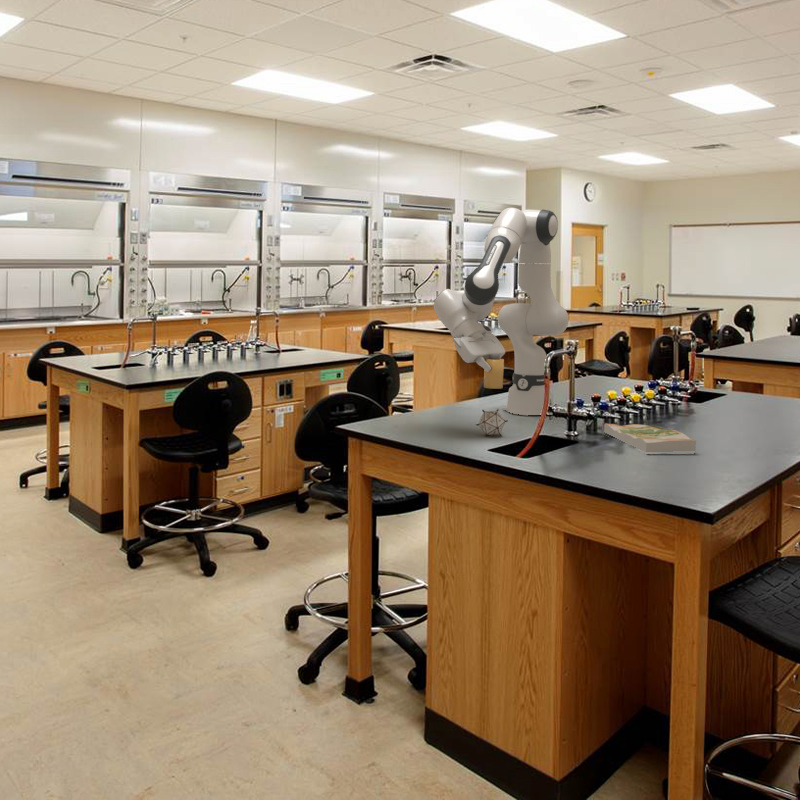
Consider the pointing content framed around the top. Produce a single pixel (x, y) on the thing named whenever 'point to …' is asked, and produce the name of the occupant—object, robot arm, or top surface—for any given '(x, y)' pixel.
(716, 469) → the top surface
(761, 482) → the top surface
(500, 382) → the bottle
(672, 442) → the topographic model
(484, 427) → the game die
